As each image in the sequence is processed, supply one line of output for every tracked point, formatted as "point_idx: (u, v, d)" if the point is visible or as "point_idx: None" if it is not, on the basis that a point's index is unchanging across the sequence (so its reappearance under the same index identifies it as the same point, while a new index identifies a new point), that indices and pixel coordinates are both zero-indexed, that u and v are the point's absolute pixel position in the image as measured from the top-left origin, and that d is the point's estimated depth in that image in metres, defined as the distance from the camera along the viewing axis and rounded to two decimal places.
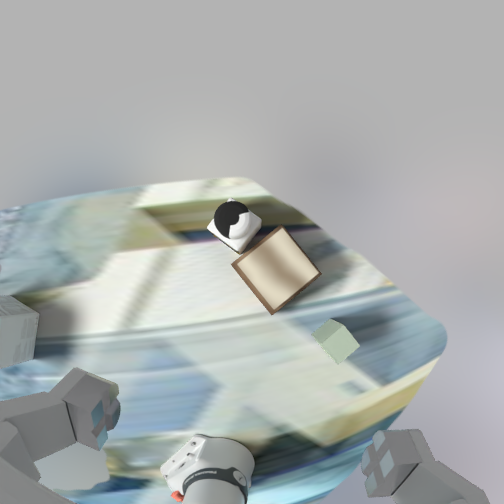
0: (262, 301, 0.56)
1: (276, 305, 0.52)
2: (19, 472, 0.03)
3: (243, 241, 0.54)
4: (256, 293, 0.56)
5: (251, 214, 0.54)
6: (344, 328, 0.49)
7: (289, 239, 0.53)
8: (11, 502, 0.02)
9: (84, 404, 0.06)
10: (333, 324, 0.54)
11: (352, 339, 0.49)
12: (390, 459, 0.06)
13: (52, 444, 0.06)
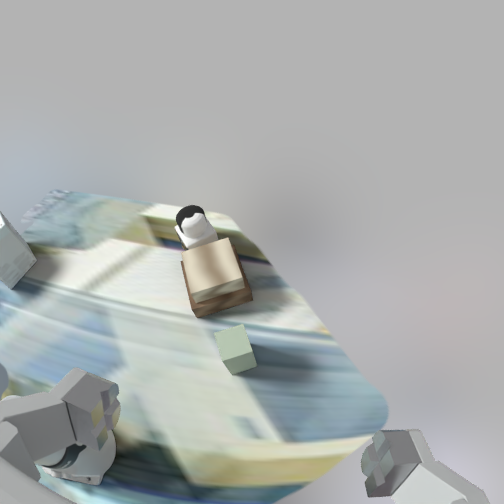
0: (190, 295, 0.60)
1: (194, 291, 0.56)
2: (18, 471, 0.03)
3: (194, 241, 0.63)
4: (188, 288, 0.61)
5: (210, 226, 0.65)
6: (242, 327, 0.49)
7: (229, 246, 0.61)
8: (11, 502, 0.02)
9: (84, 404, 0.06)
10: None
11: (246, 341, 0.47)
12: (390, 459, 0.06)
13: (52, 444, 0.06)
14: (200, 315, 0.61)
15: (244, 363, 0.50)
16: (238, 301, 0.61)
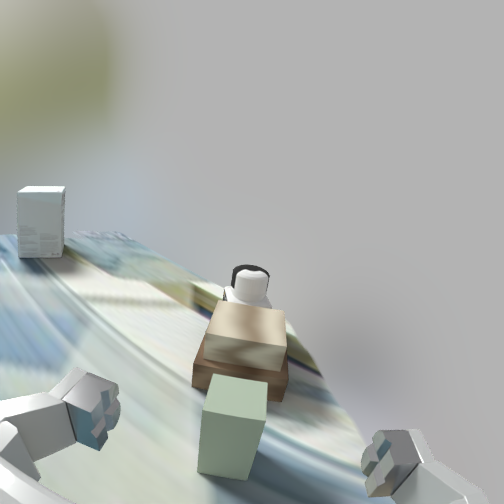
0: (200, 350, 0.39)
1: (212, 332, 0.37)
2: (18, 471, 0.03)
3: (241, 303, 0.48)
4: (203, 343, 0.41)
5: (267, 300, 0.51)
6: (264, 386, 0.25)
7: (282, 317, 0.43)
8: (11, 502, 0.02)
9: (84, 404, 0.06)
10: None
11: (262, 404, 0.23)
12: (390, 459, 0.06)
13: (52, 444, 0.06)
14: (198, 384, 0.37)
15: (232, 454, 0.23)
16: None
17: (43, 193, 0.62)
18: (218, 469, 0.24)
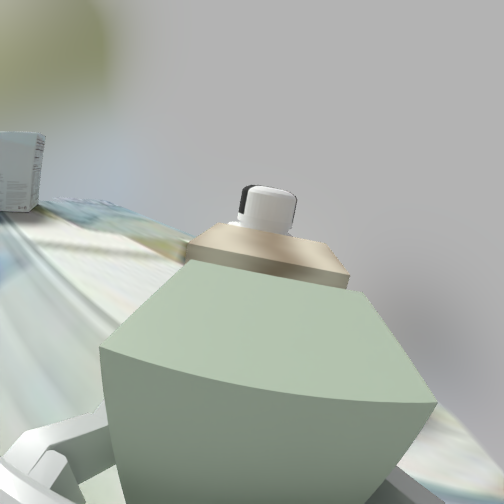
0: None
1: (201, 244, 0.19)
2: (18, 471, 0.03)
3: None
4: None
5: None
6: (358, 298, 0.08)
7: (326, 247, 0.25)
8: (11, 502, 0.02)
9: None
10: None
11: (384, 343, 0.05)
12: None
13: (96, 466, 0.06)
14: None
15: None
16: None
17: (16, 133, 0.46)
18: None
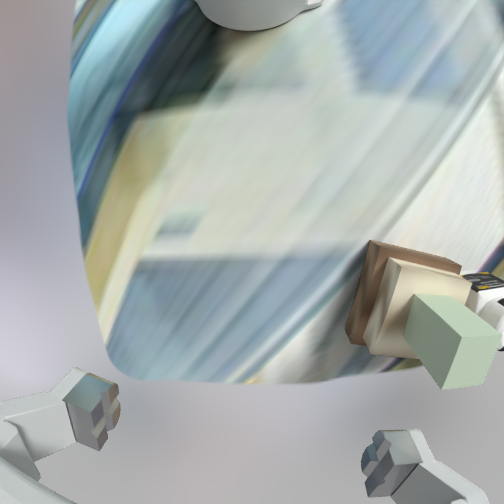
0: (403, 254, 0.31)
1: (401, 275, 0.28)
2: (19, 472, 0.03)
3: (477, 307, 0.29)
4: (416, 258, 0.31)
5: None
6: (478, 382, 0.19)
7: None
8: (11, 502, 0.02)
9: (84, 404, 0.06)
10: None
11: (459, 384, 0.19)
12: (390, 459, 0.06)
13: (52, 444, 0.06)
14: (369, 248, 0.35)
15: (424, 340, 0.24)
16: (353, 313, 0.36)
17: None
18: (414, 317, 0.27)
